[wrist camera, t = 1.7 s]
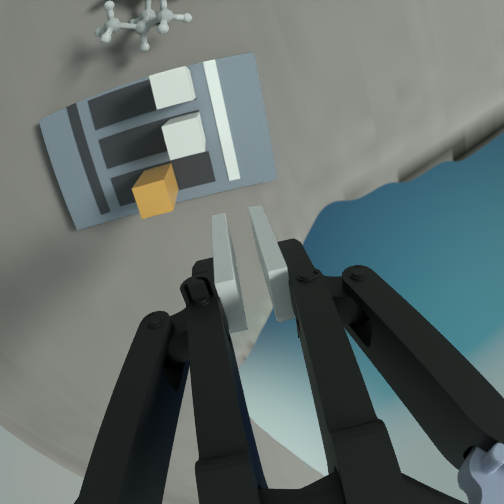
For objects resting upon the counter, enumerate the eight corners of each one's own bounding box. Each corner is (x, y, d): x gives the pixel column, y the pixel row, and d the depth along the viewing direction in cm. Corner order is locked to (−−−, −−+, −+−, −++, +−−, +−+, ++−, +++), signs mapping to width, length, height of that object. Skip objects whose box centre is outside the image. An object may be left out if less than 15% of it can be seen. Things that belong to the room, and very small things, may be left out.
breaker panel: (82, 223, 35) (57, 258, 28) (46, 117, 28) (8, 130, 21) (273, 174, 36) (291, 199, 29) (251, 54, 29) (264, 44, 22)
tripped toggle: (152, 196, 33) (142, 218, 28) (144, 170, 31) (131, 188, 26) (178, 189, 33) (173, 210, 28) (171, 163, 31) (163, 179, 26)
